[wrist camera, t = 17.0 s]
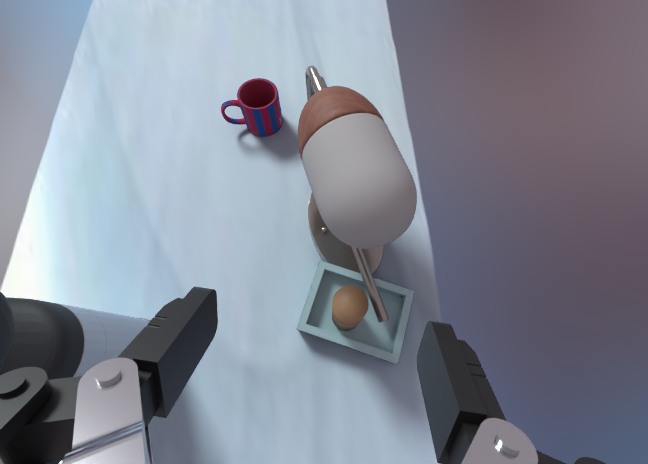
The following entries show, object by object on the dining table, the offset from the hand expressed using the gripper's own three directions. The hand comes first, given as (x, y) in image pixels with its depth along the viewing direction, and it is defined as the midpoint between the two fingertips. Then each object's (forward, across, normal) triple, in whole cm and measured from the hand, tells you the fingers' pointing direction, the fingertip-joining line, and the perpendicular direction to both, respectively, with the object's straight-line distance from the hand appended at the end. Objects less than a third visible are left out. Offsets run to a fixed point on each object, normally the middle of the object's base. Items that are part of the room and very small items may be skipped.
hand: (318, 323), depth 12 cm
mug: (+50, -18, +1) cm, 53 cm away
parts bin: (+28, +4, -21) cm, 35 cm away
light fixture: (+38, 0, -11) cm, 40 cm away
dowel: (+27, +3, -21) cm, 34 cm away
